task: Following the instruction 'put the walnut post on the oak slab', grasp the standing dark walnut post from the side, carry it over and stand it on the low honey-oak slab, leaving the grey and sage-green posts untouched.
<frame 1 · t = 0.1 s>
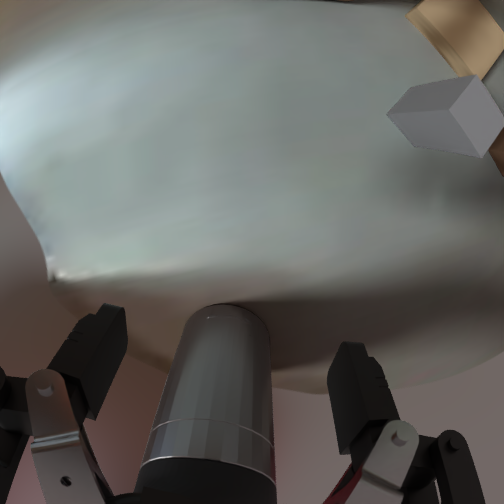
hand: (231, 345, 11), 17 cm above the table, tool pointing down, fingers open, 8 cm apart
grey post: (412, 116, 23), on the table
oak slab: (453, 30, 19), on the table
walnut post: (503, 151, 23), on the table
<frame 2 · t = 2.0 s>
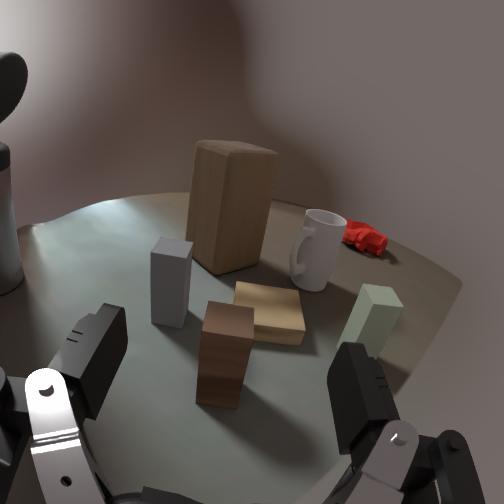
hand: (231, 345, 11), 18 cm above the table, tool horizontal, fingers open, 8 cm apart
grey post: (170, 316, 38), on the table
mug: (301, 285, 51), on the table
oak slab: (264, 321, 41), on the table
animal figurine: (353, 244, 73), on the table
wooden block: (220, 259, 54), on the table
walnut post: (217, 391, 29), on the table
sage post: (353, 358, 36), on the table
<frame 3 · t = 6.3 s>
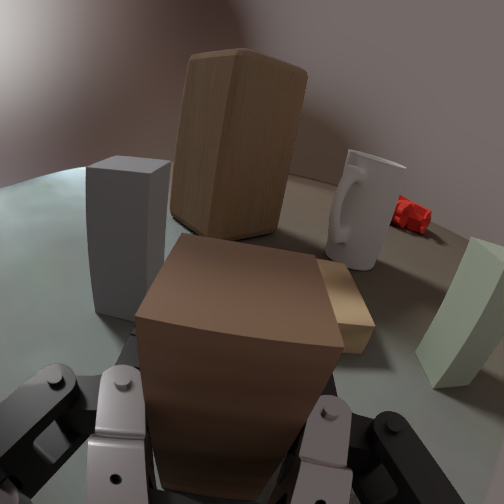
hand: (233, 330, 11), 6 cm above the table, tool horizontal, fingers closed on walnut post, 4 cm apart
grey post: (130, 302, 21), on the table
mug: (341, 262, 34), on the table
oak slab: (294, 314, 24), on the table
animal figurine: (389, 220, 56), on the table
wooden block: (221, 226, 37), on the table
walnut post: (212, 459, 12), on the table, touching gripper
sage post: (442, 369, 19), on the table
when the fingers open (10 cm above the table, at t = 10.3 s): walnut post drops 2 cm, resting on oak slab.
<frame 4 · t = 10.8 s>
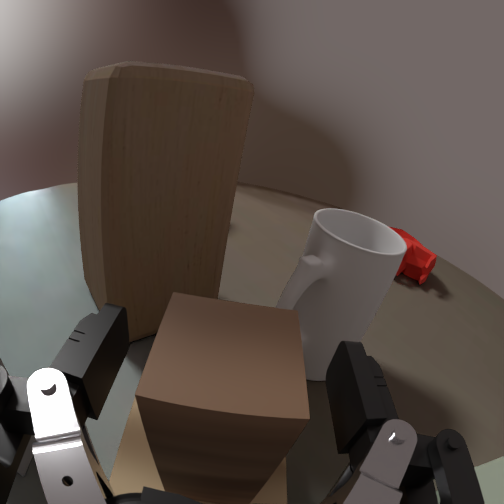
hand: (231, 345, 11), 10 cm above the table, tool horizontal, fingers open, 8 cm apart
grey post: (10, 440, 12), on the table
mug: (297, 363, 24), on the table
oak slab: (200, 473, 15), on the table, touching walnut post
animal figurine: (383, 261, 45), on the table
wooden block: (146, 300, 27), on the table
walnut post: (210, 469, 13), point 3 cm above the table, touching oak slab
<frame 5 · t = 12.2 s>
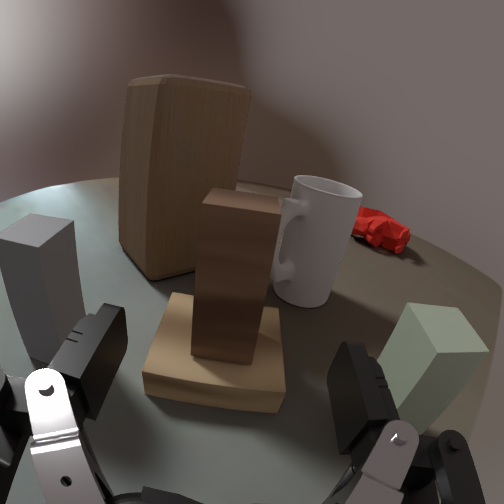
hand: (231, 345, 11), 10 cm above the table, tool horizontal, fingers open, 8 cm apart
grey post: (59, 347, 19), on the table
mug: (290, 296, 32), on the table
oak slab: (216, 364, 23), on the table, touching walnut post
animal figurine: (365, 238, 54), on the table
wooden block: (169, 256, 36), on the table
walnut post: (223, 341, 21), point 3 cm above the table, touching oak slab
sage post: (374, 432, 17), on the table
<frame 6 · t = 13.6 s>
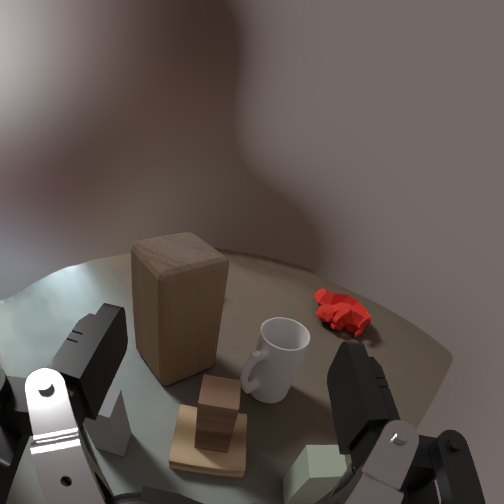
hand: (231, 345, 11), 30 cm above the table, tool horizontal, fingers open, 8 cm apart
grey post: (113, 440, 31), on the table
mug: (259, 393, 44), on the table
oak slab: (208, 446, 34), on the table, touching walnut post
animal figurine: (332, 318, 65), on the table
wooden block: (174, 359, 47), on the table
walnut post: (212, 437, 33), point 2 cm above the table, touching oak slab
sage post: (298, 491, 29), on the table
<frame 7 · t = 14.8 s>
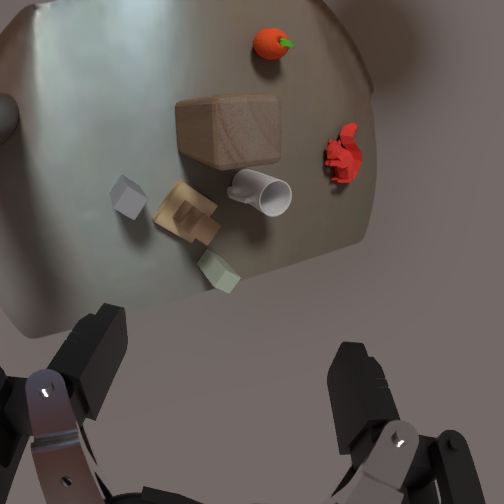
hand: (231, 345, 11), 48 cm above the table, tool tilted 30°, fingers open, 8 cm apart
grey post: (124, 189, 51), on the table
mug: (237, 184, 62), on the table
clementine: (263, 47, 52), on the table
oak slab: (182, 209, 59), on the table, touching walnut post
animal figurine: (336, 149, 71), on the table
wooden block: (200, 125, 53), on the table
walnut post: (186, 213, 57), point 3 cm above the table, touching oak slab
sage post: (208, 260, 66), on the table
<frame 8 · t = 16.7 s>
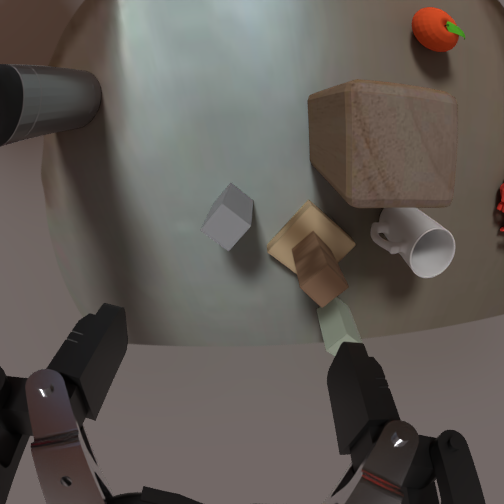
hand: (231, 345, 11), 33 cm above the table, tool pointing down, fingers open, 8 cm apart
grey post: (233, 202, 42), on the table
mug: (387, 218, 43), on the table
clementine: (426, 34, 30), on the table
oak slab: (309, 239, 45), on the table
wooden block: (343, 129, 38), on the table
walnut post: (311, 249, 43), point 3 cm above the table
sage post: (332, 308, 50), on the table
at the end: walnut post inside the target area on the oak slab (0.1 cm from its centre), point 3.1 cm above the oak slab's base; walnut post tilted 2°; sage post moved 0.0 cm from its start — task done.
